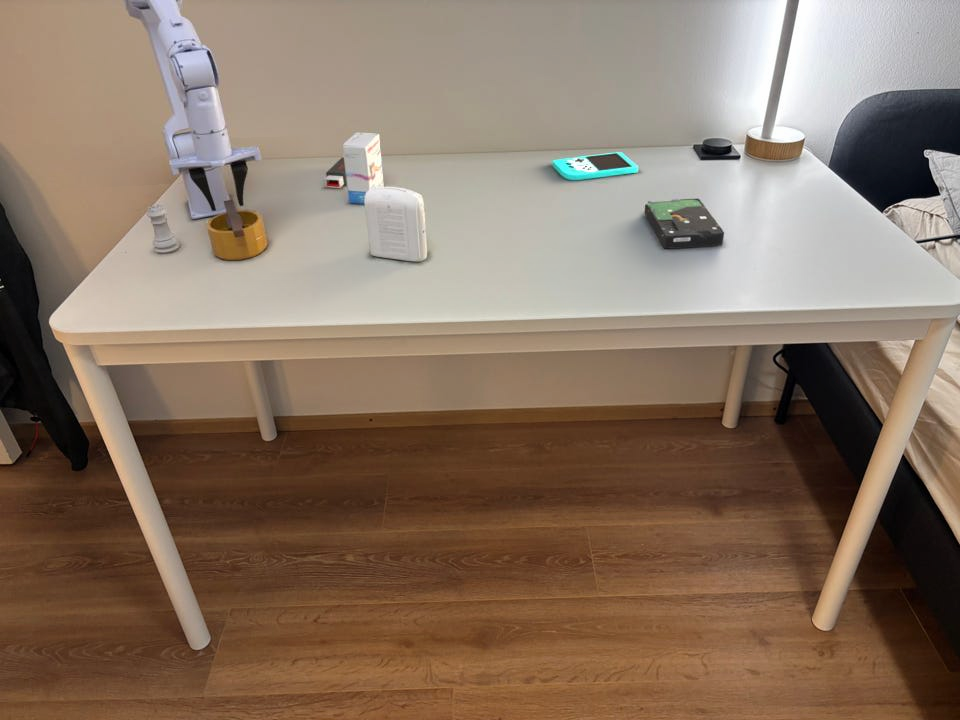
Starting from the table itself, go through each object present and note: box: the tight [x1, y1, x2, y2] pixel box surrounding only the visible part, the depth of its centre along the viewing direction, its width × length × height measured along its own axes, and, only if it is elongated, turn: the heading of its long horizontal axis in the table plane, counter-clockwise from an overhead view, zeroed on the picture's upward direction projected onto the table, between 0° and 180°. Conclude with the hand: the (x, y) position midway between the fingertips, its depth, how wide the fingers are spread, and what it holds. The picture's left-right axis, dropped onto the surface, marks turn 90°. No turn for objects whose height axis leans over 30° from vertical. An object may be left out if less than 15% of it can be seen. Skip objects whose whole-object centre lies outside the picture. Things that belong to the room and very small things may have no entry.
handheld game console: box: [551, 151, 639, 181], centre depth 158 cm, size 10×16×1 cm, turn 104°
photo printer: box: [363, 186, 428, 263], centre depth 125 cm, size 10×4×12 cm, turn 72°
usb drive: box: [324, 157, 347, 189], centre depth 158 cm, size 5×12×3 cm, turn 167°
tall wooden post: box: [223, 199, 244, 238], centre depth 130 cm, size 14×2×5 cm, turn 22°
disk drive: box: [644, 198, 725, 249], centre depth 132 cm, size 10×3×15 cm
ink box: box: [342, 131, 385, 205], centre depth 147 cm, size 9×5×12 cm, turn 168°
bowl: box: [205, 209, 269, 261], centre depth 131 cm, size 9×9×6 cm
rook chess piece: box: [146, 204, 181, 255], centre depth 131 cm, size 4×4×8 cm
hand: (227, 206), depth 129 cm, fingers open, 4 cm apart
